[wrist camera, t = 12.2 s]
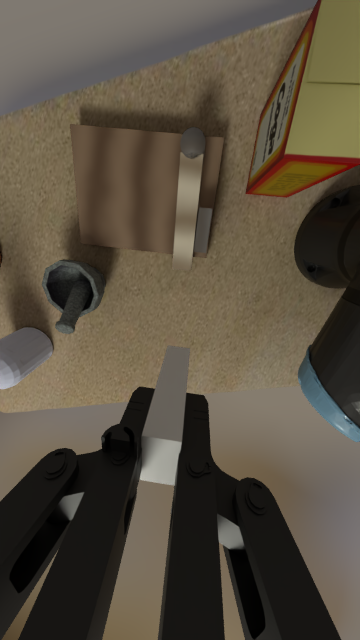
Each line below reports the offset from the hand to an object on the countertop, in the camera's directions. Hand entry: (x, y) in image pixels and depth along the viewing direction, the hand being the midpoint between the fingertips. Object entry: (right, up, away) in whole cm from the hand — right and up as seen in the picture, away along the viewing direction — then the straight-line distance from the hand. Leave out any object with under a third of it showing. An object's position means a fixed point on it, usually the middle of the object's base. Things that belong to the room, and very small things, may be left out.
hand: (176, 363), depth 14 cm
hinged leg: (+2, +20, +17) cm, 27 cm away
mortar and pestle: (-18, +10, +26) cm, 33 cm away
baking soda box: (+14, +27, +16) cm, 35 cm away
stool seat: (-5, +23, +19) cm, 31 cm away
